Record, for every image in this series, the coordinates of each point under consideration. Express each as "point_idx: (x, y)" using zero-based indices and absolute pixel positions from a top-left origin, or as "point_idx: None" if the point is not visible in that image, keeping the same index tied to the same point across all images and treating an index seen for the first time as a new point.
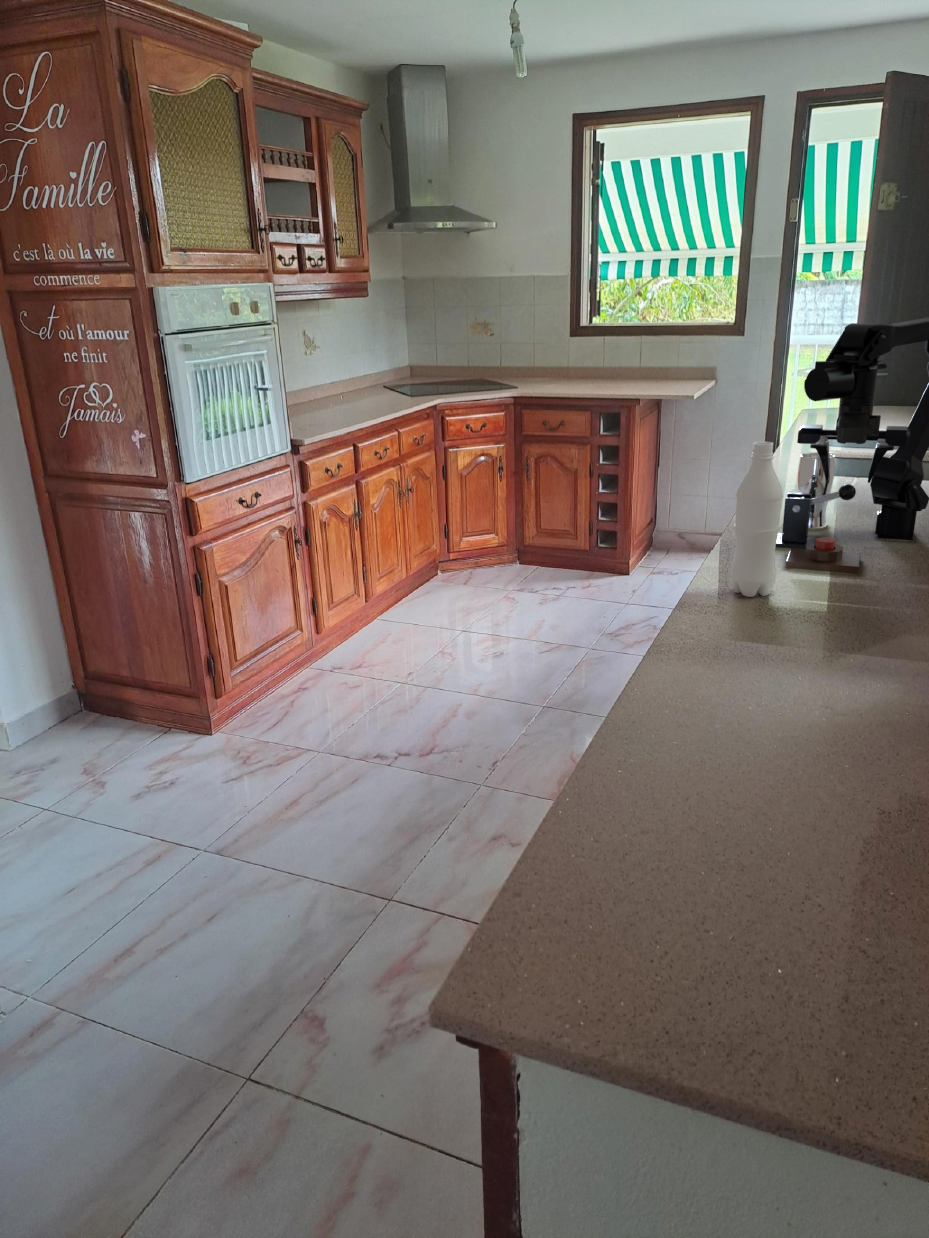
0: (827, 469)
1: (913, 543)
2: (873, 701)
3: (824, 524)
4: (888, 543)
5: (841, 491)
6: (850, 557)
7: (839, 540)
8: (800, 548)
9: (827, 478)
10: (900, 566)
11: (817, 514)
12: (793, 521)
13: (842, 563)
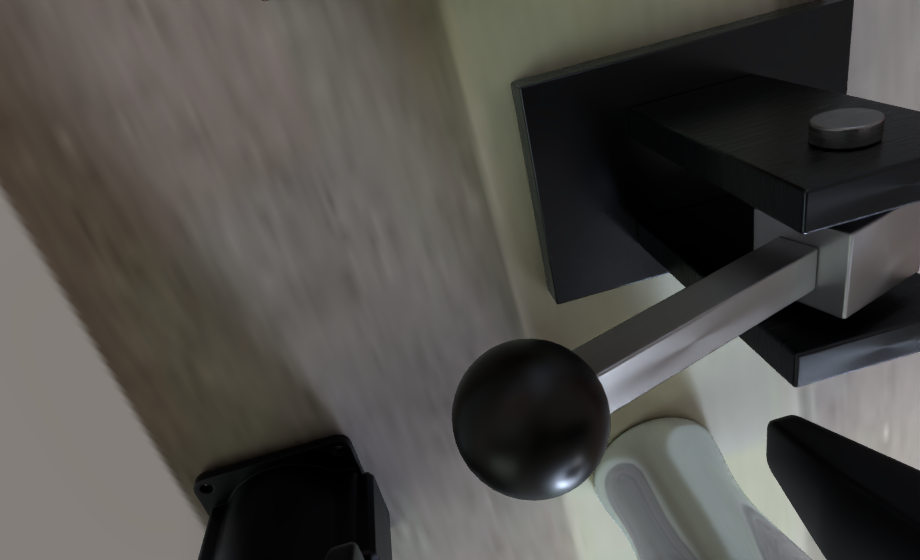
0: (906, 505)
1: (188, 461)
2: None
3: (605, 478)
4: (283, 409)
5: (576, 368)
6: None
7: (495, 345)
8: (635, 53)
9: (799, 430)
10: (19, 22)
11: (658, 491)
12: (783, 111)
13: None
